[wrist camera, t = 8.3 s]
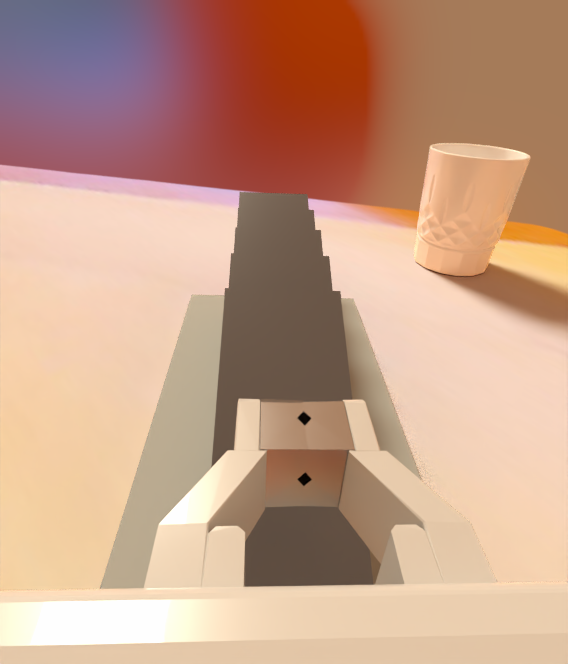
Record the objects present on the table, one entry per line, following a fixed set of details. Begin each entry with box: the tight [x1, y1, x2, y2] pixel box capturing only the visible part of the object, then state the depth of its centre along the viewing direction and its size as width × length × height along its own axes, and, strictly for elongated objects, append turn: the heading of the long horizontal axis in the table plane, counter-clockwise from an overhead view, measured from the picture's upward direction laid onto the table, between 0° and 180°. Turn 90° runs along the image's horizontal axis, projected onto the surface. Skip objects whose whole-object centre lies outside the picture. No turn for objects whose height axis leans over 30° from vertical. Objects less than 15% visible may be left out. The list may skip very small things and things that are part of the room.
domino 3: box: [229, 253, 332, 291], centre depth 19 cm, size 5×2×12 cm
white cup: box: [413, 143, 530, 276], centre depth 39 cm, size 8×8×10 cm
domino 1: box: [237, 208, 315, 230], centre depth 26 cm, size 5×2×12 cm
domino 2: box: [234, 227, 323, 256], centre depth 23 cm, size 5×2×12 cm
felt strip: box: [100, 295, 422, 589], centre depth 20 cm, size 12×28×1 cm, turn 2°
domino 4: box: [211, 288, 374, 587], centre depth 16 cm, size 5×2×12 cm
